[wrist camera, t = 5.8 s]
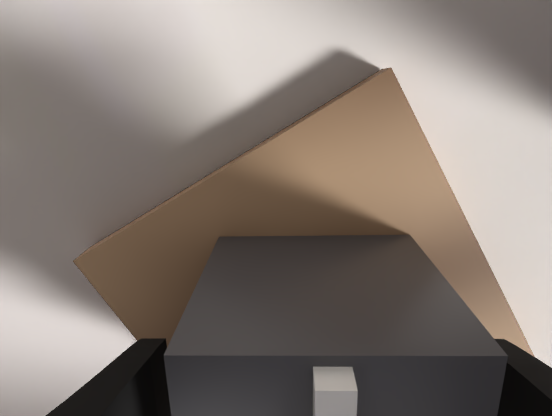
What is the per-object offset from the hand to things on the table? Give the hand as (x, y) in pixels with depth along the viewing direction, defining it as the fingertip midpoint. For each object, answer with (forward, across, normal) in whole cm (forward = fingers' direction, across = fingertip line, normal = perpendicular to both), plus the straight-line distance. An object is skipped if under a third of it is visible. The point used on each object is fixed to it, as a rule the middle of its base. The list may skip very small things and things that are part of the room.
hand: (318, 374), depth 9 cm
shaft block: (+3, 0, 0) cm, 3 cm away
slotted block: (+2, 0, 0) cm, 2 cm away
